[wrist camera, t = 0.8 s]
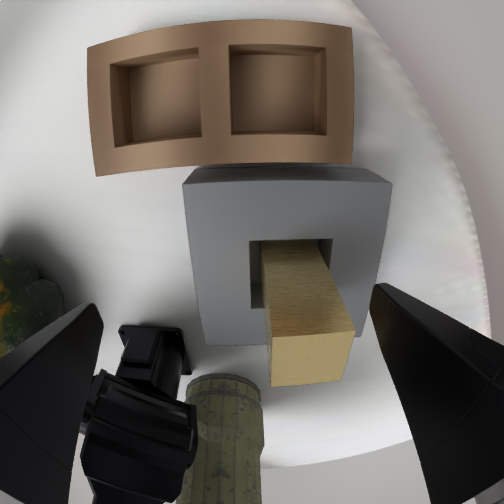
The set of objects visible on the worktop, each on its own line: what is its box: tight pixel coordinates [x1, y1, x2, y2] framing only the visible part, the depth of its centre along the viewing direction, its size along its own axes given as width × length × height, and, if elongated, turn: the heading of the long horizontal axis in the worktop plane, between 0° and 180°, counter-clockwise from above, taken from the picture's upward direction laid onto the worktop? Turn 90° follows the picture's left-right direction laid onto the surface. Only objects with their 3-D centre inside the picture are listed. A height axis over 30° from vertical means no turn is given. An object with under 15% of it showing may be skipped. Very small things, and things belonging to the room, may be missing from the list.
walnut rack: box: [87, 19, 354, 177], centre depth 14 cm, size 14×8×4 cm, turn 91°
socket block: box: [182, 167, 392, 345], centre depth 20 cm, size 12×12×4 cm
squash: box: [0, 254, 63, 358], centre depth 18 cm, size 14×15×15 cm
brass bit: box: [260, 239, 356, 387], centre depth 16 cm, size 3×3×10 cm
